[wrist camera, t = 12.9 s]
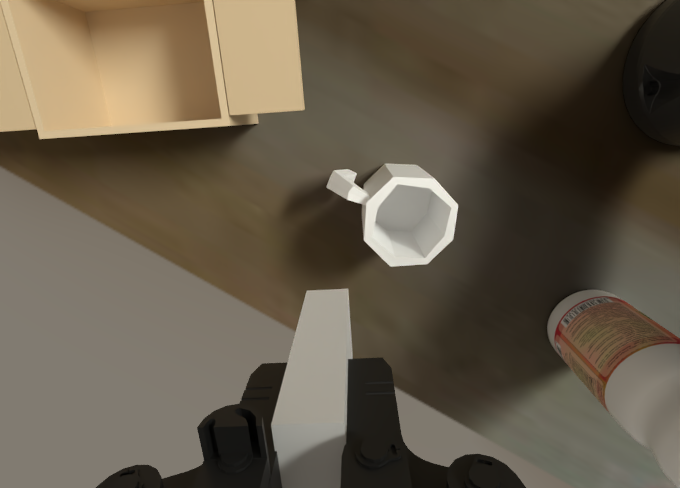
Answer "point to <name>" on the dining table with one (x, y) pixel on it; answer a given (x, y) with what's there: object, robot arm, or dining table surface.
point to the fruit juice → (624, 368)
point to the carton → (145, 64)
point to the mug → (401, 212)
